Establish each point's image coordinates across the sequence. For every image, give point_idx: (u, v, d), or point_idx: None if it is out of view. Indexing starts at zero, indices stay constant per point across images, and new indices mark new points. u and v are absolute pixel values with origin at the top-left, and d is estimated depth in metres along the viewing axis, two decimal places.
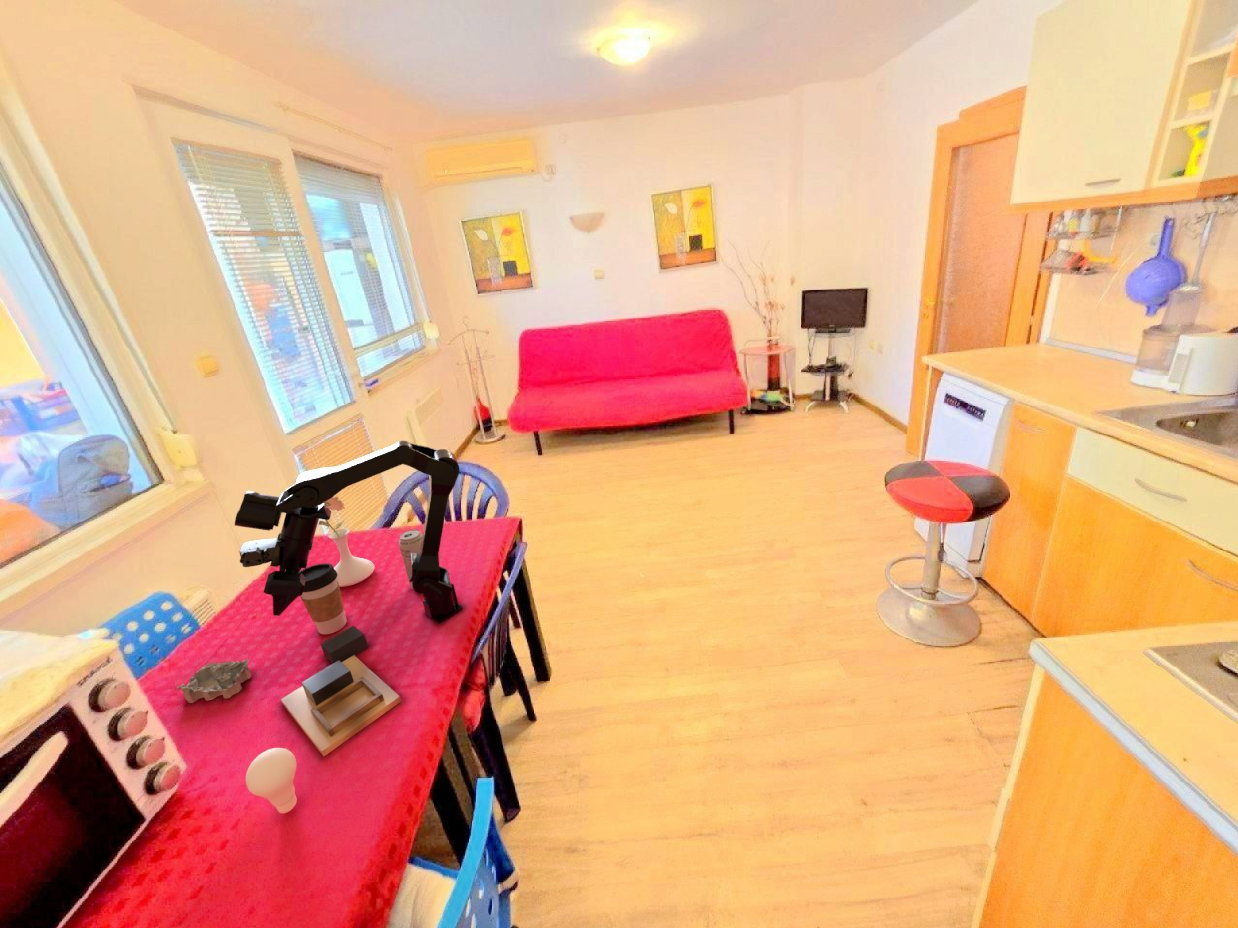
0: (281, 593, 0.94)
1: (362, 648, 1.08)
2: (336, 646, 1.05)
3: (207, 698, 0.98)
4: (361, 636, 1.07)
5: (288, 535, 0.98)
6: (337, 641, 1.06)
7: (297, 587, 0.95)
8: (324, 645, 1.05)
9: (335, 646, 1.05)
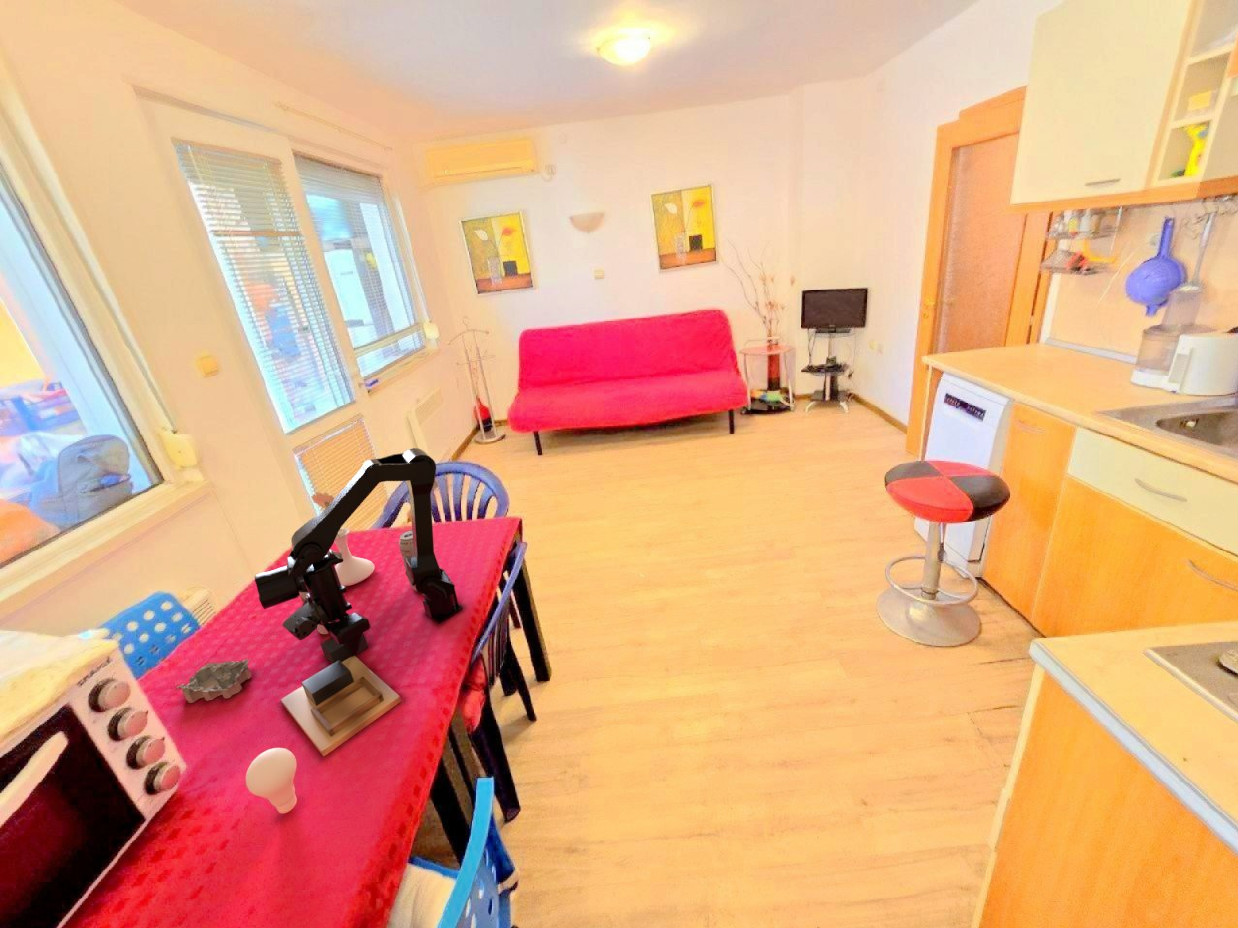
0: (354, 635, 0.99)
1: (362, 648, 1.08)
2: (336, 646, 1.05)
3: (207, 698, 0.98)
4: (361, 636, 1.07)
5: (317, 592, 0.99)
6: None
7: (364, 623, 1.00)
8: (324, 645, 1.05)
9: (335, 646, 1.05)
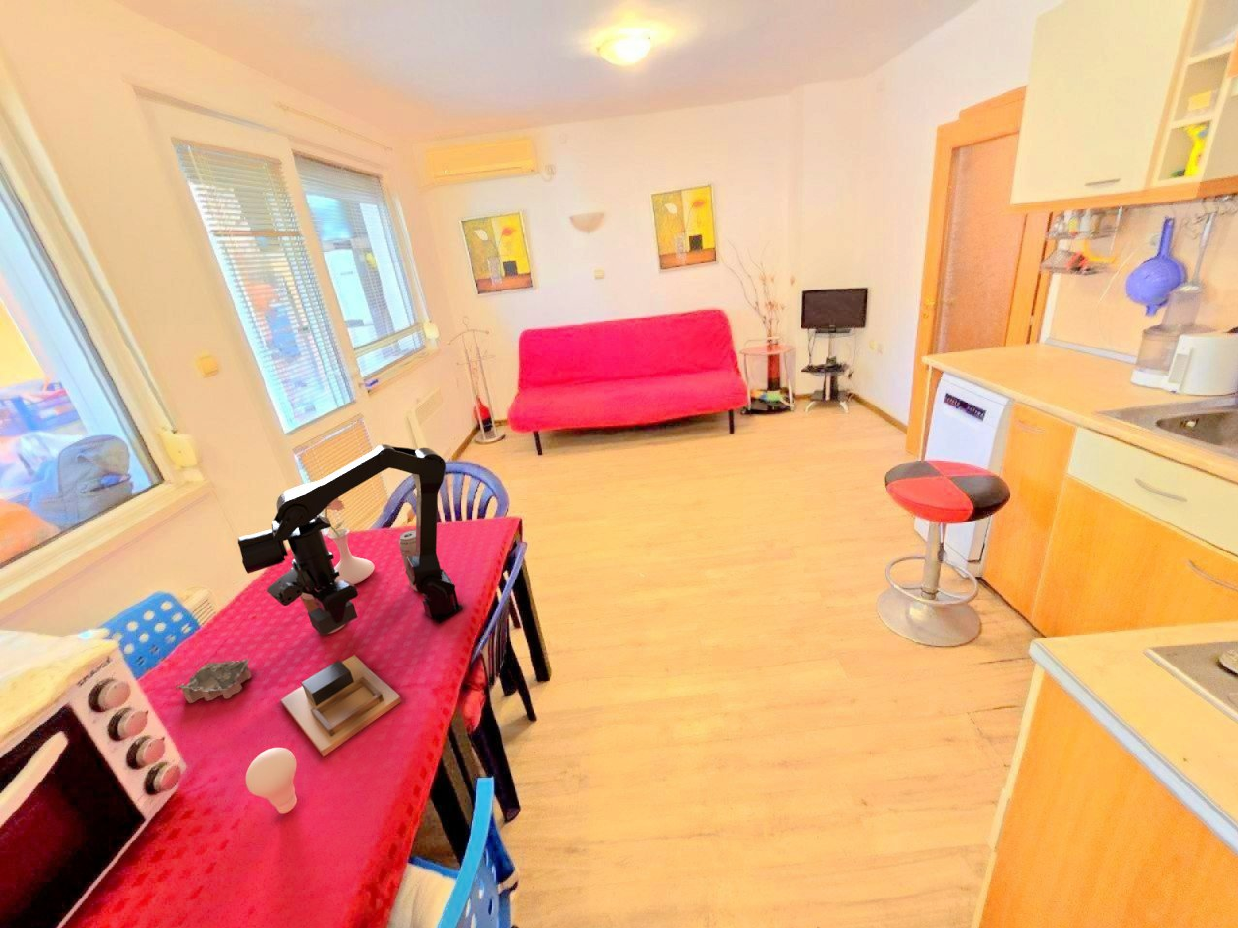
0: (341, 603, 0.96)
1: (351, 618, 1.05)
2: (324, 615, 1.01)
3: (207, 698, 0.98)
4: (350, 606, 1.04)
5: (303, 557, 0.96)
6: None
7: (351, 590, 0.97)
8: (311, 614, 1.02)
9: (322, 615, 1.01)
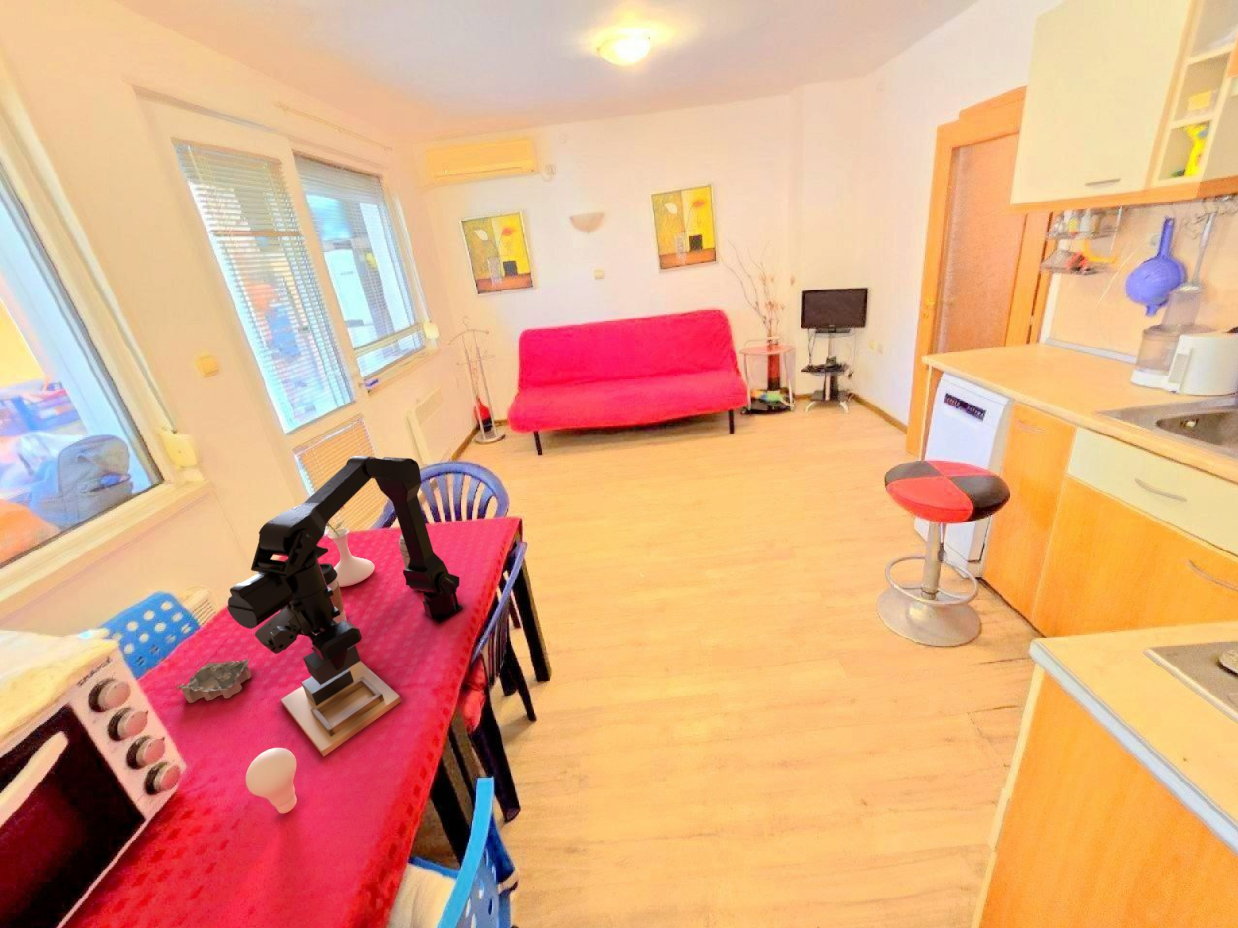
0: (342, 649, 0.81)
1: (353, 662, 0.90)
2: (322, 661, 0.87)
3: (207, 698, 0.98)
4: (352, 648, 0.90)
5: (309, 593, 0.82)
6: None
7: (354, 634, 0.82)
8: (307, 659, 0.87)
9: (320, 660, 0.87)
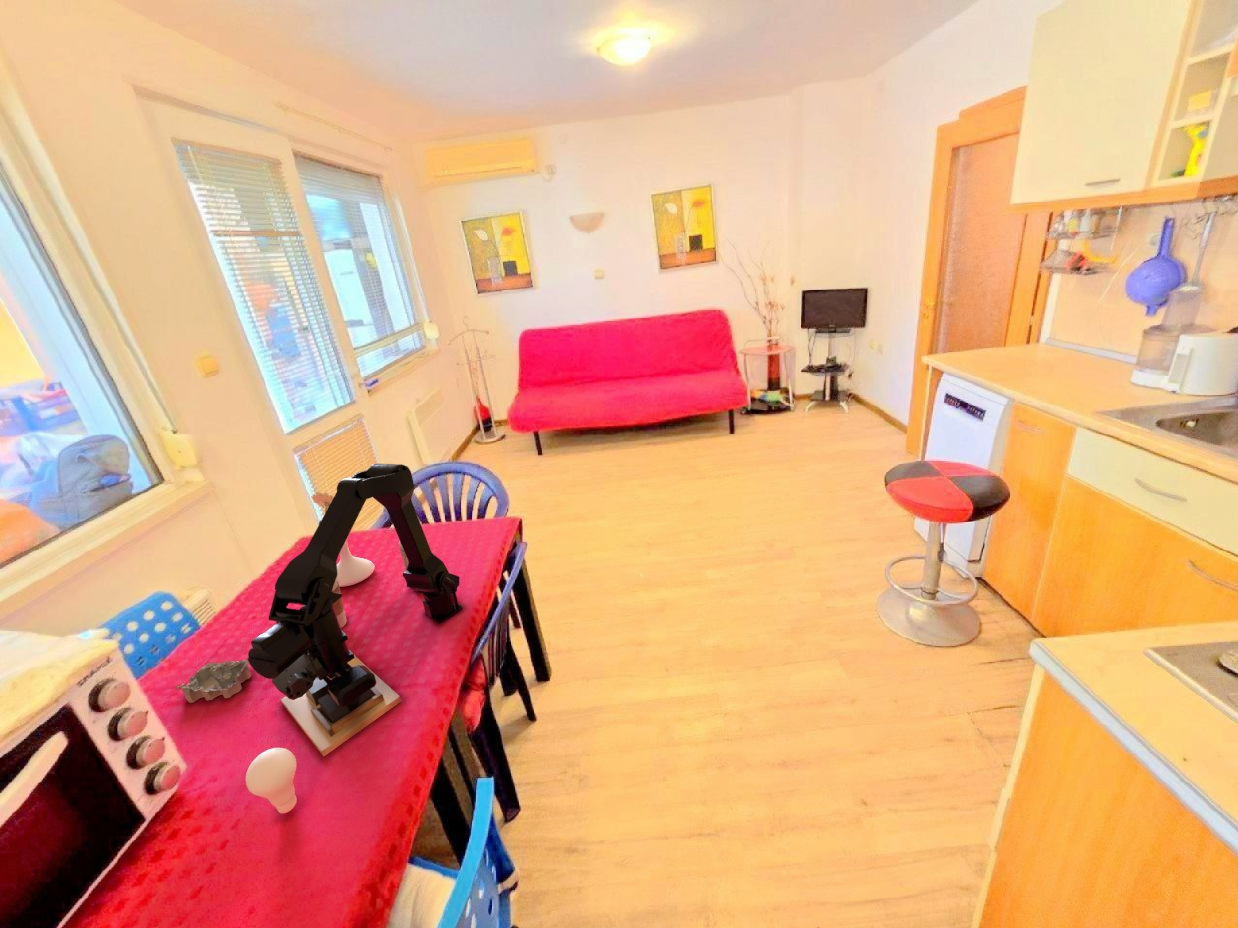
0: (358, 695, 0.83)
1: None
2: (337, 704, 0.89)
3: (207, 698, 0.98)
4: None
5: (326, 639, 0.84)
6: None
7: (369, 679, 0.84)
8: (322, 702, 0.89)
9: (335, 703, 0.89)
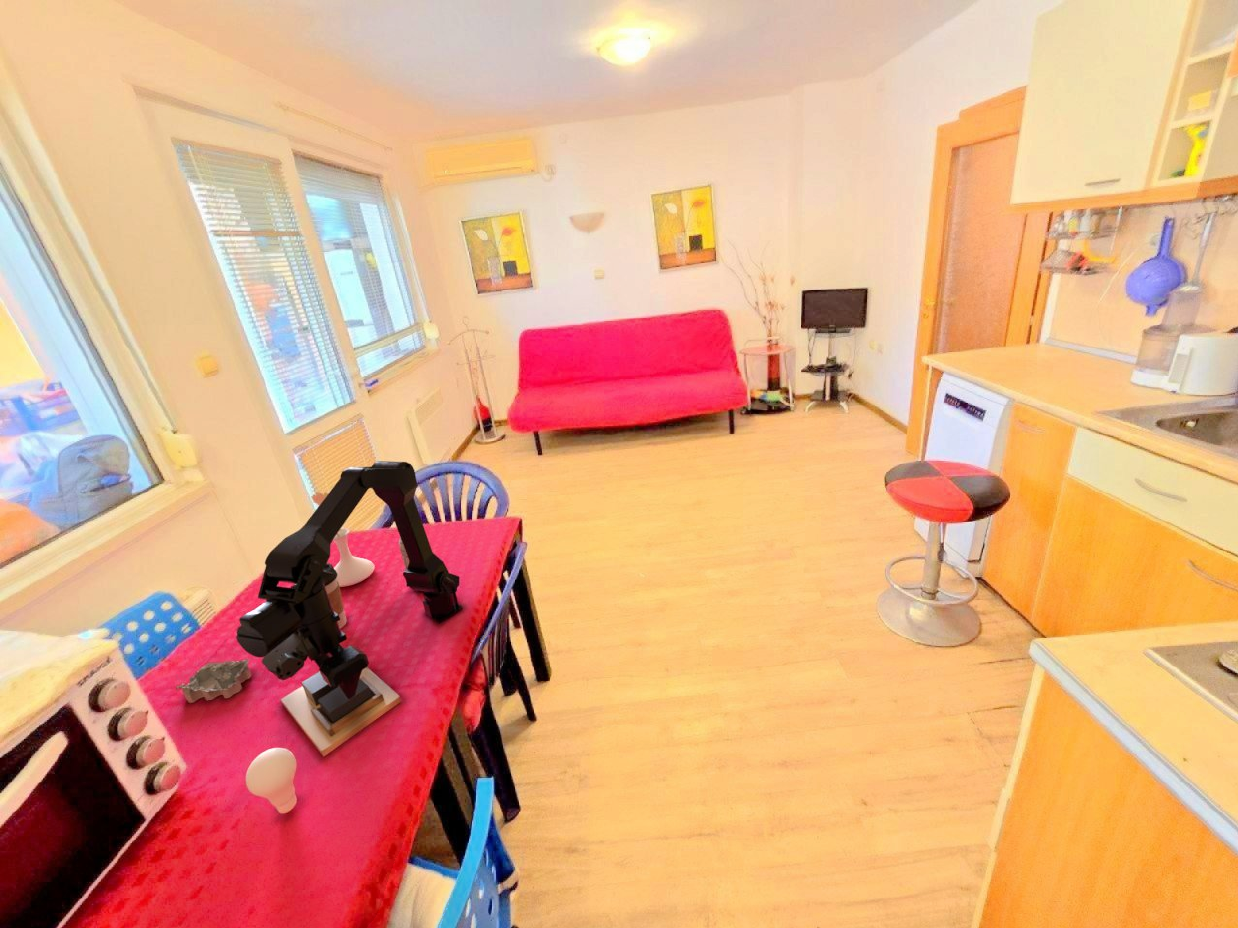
0: (349, 675, 0.81)
1: None
2: (337, 704, 0.89)
3: (207, 698, 0.98)
4: (366, 690, 0.91)
5: (317, 618, 0.82)
6: (338, 696, 0.90)
7: (361, 659, 0.82)
8: (322, 702, 0.89)
9: (335, 703, 0.89)
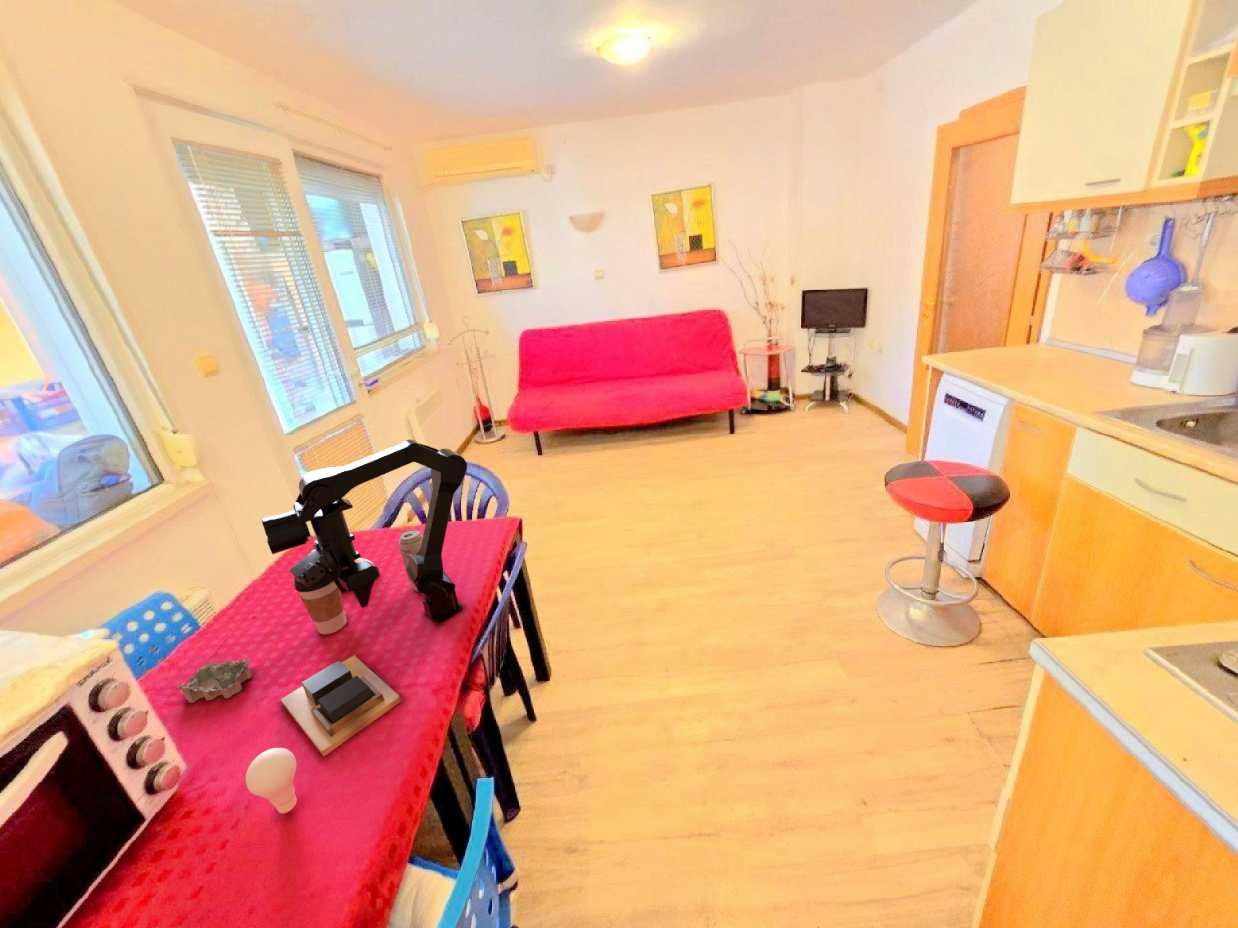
0: (364, 583, 0.97)
1: None
2: (337, 704, 0.89)
3: (207, 698, 0.98)
4: (366, 690, 0.91)
5: (326, 538, 0.97)
6: (338, 696, 0.90)
7: (373, 570, 0.98)
8: (322, 702, 0.89)
9: (335, 703, 0.89)
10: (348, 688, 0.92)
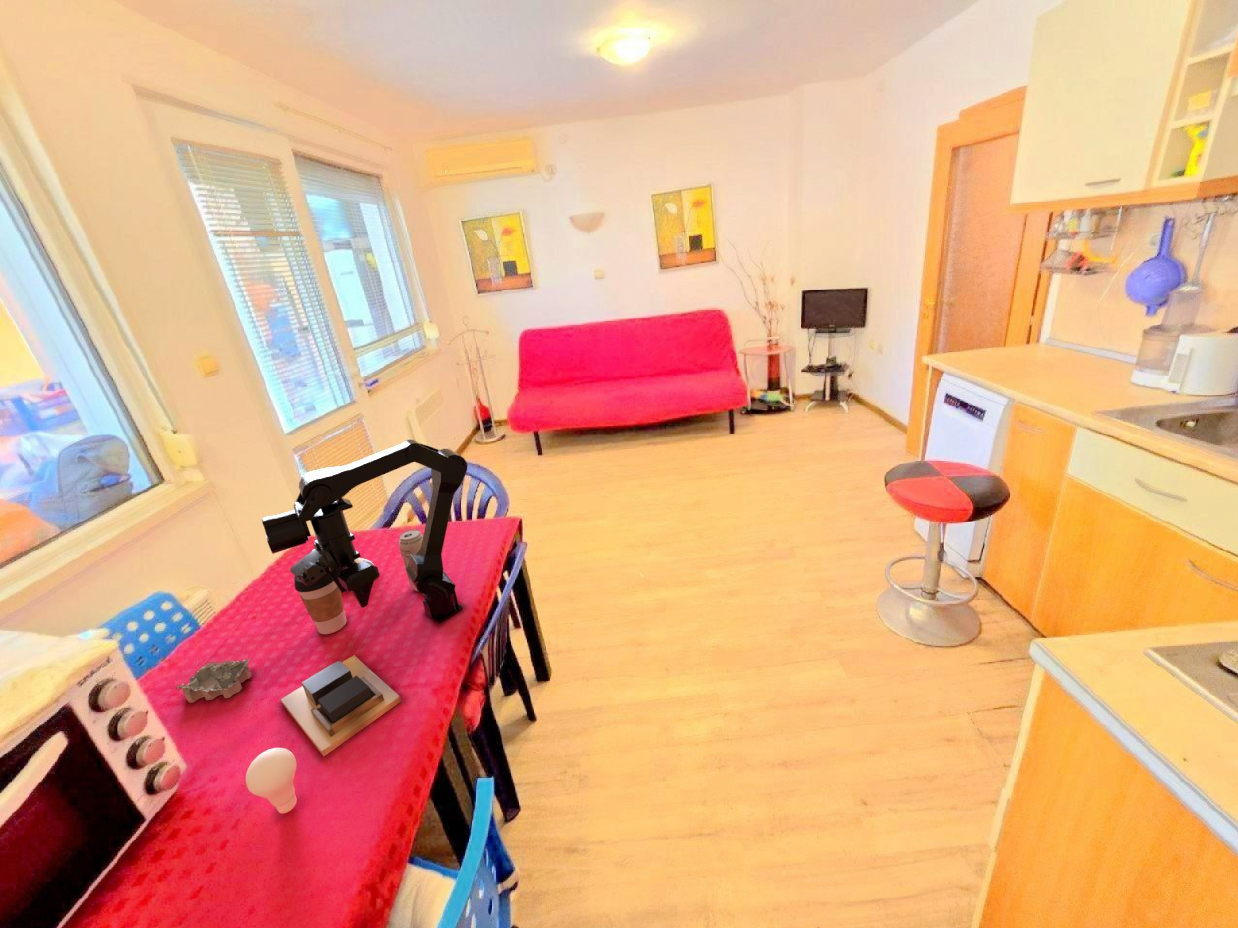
0: (363, 582, 0.97)
1: None
2: (337, 704, 0.89)
3: (207, 698, 0.98)
4: (366, 690, 0.91)
5: (326, 538, 0.97)
6: (338, 696, 0.90)
7: (373, 570, 0.98)
8: (322, 702, 0.89)
9: (335, 703, 0.89)
10: (348, 688, 0.92)
